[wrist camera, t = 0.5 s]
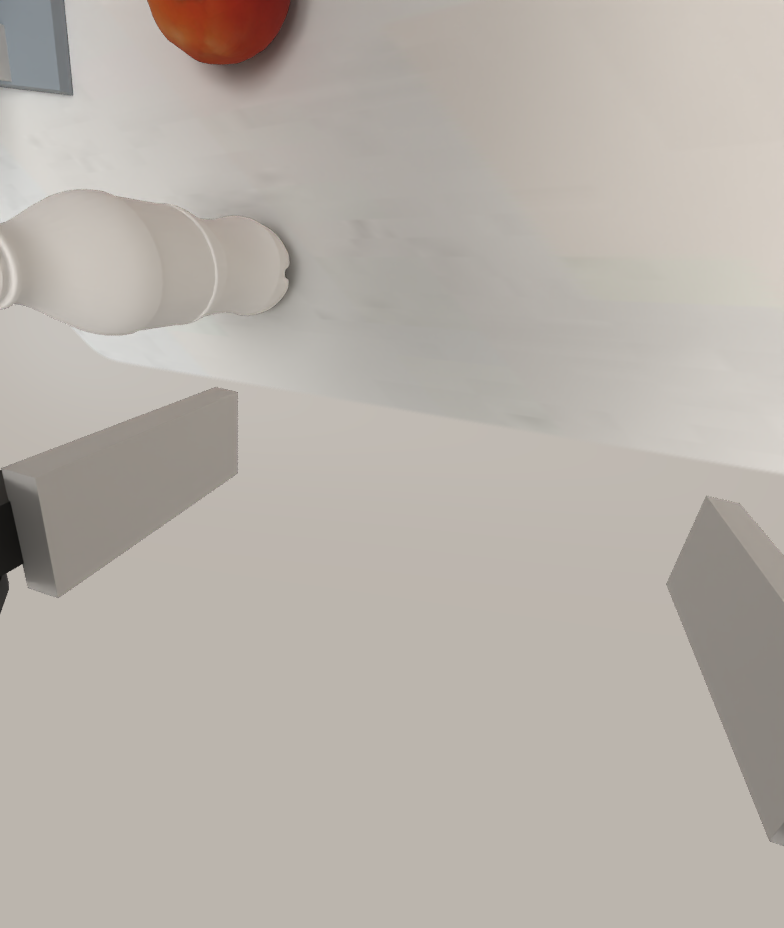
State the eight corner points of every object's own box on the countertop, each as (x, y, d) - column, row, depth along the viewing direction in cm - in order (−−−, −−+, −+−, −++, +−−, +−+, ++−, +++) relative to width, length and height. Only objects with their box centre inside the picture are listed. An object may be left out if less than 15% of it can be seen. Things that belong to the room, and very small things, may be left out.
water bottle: (253, 199, 39) (-134, 102, 16) (317, 265, 39) (27, 259, 17) (208, 269, 42) (-167, 269, 20) (268, 330, 42) (-30, 397, 20)
